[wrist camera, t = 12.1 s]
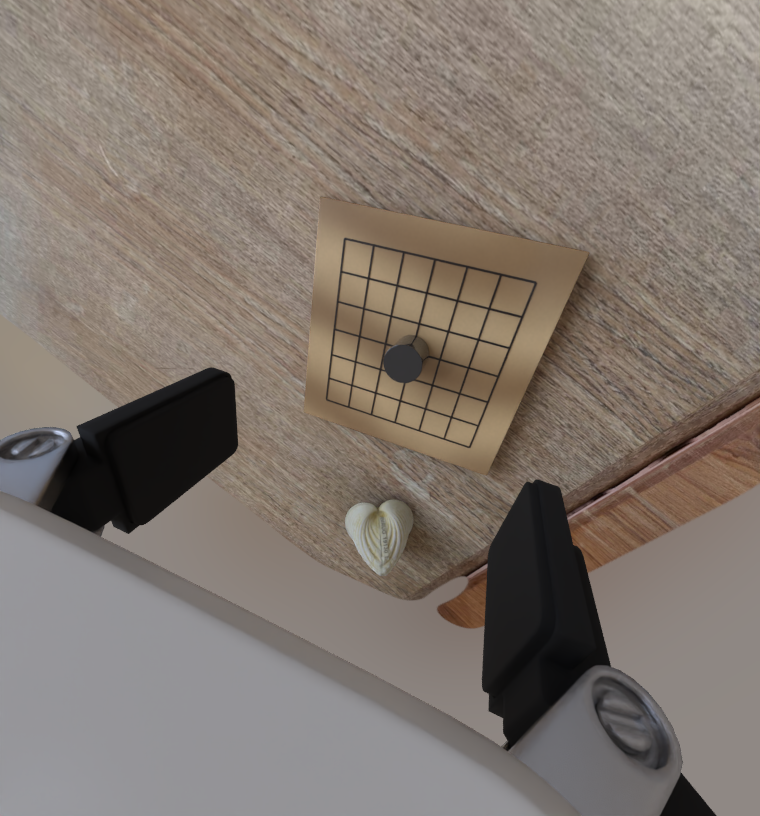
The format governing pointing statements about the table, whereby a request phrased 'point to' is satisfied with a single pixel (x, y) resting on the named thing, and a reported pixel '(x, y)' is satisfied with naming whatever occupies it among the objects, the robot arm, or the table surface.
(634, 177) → the table surface
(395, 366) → the black stone
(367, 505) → the seashell
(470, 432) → the board
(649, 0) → the table surface
